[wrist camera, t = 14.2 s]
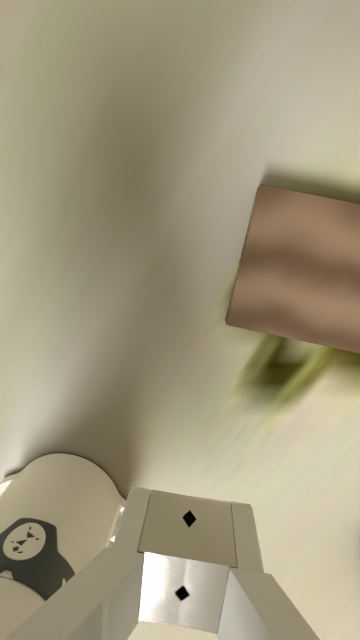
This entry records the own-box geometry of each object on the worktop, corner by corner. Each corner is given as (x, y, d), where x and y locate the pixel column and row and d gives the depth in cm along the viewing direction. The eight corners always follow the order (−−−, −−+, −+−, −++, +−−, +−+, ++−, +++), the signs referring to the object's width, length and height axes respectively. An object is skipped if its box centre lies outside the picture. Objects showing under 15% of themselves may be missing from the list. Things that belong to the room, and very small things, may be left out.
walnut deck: (367, 350, 34) (376, 357, 32) (225, 320, 34) (226, 324, 32) (416, 220, 30) (431, 218, 28) (257, 188, 31) (261, 184, 29)
